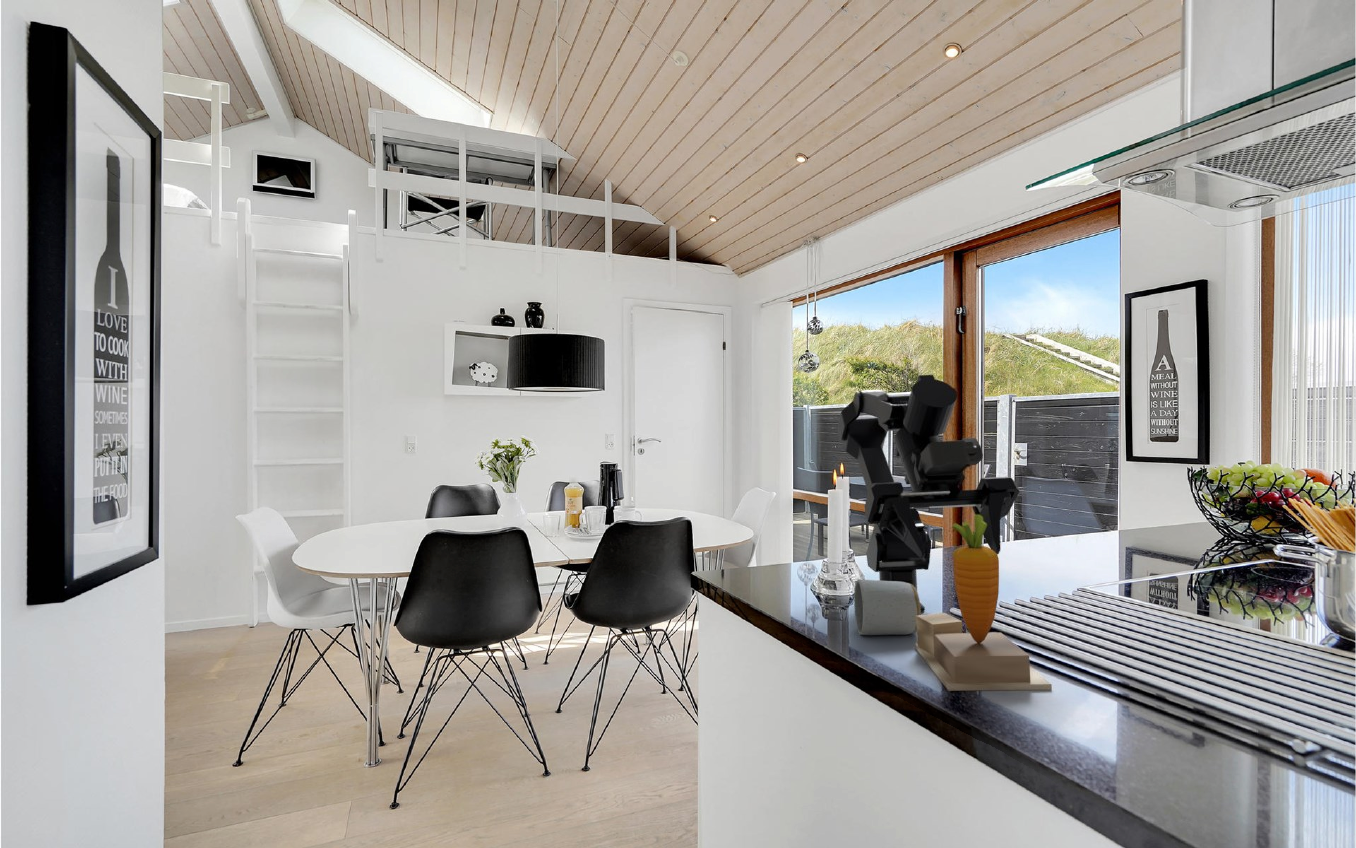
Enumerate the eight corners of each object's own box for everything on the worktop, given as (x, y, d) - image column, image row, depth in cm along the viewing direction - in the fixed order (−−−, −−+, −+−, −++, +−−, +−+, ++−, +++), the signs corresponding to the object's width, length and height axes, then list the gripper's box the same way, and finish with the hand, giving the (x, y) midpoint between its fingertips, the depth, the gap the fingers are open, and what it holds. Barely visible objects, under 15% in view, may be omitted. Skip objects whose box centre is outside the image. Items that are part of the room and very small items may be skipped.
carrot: (974, 652, 75) (969, 520, 75) (946, 639, 80) (942, 514, 80) (1012, 647, 76) (1006, 517, 76) (982, 634, 81) (977, 512, 81)
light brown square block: (934, 658, 82) (933, 633, 82) (1002, 657, 81) (1000, 632, 81) (955, 683, 74) (954, 656, 74) (1030, 682, 73) (1029, 655, 73)
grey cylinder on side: (925, 641, 90) (922, 584, 90) (863, 642, 91) (861, 586, 91) (904, 619, 101) (901, 568, 101) (849, 620, 101) (847, 570, 102)
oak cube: (917, 646, 87) (916, 615, 87) (945, 643, 87) (944, 612, 87) (934, 656, 83) (932, 624, 83) (963, 653, 83) (962, 621, 83)
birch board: (915, 648, 88) (914, 643, 88) (1001, 646, 87) (1001, 642, 87) (948, 690, 74) (948, 685, 74) (1051, 689, 73) (1051, 684, 73)
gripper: (866, 422, 87) (897, 518, 76) (1008, 415, 87) (1060, 511, 76) (853, 477, 95) (880, 571, 84) (984, 470, 95) (1028, 564, 84)
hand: (960, 554), depth 82 cm, fingers open, 9 cm apart
